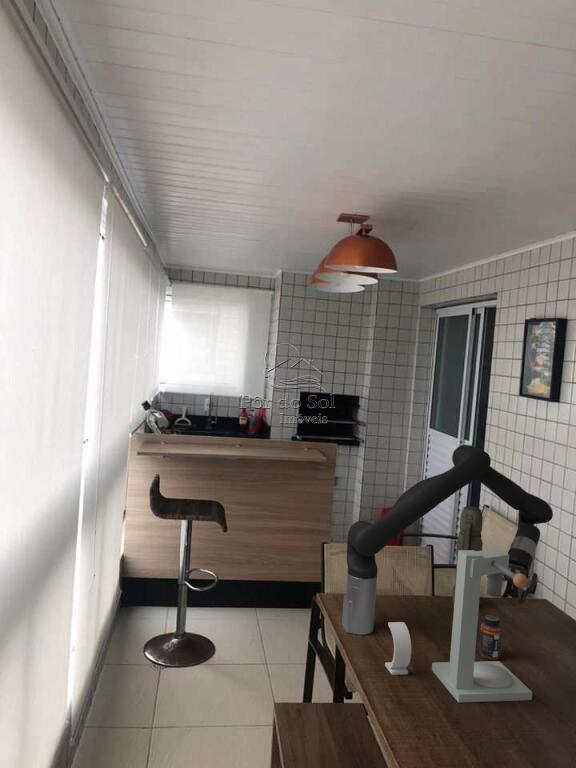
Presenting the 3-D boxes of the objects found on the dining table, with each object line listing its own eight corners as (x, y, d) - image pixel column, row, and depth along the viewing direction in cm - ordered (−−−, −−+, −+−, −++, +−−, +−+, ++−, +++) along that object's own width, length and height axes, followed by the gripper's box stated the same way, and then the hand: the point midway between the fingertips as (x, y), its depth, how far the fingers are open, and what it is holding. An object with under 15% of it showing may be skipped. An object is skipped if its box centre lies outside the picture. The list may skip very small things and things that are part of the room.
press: (477, 725, 138) (489, 572, 138) (431, 669, 164) (441, 539, 163) (555, 722, 142) (567, 572, 141) (498, 668, 167) (508, 540, 166)
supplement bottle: (501, 662, 171) (504, 623, 170) (479, 659, 172) (482, 620, 172) (498, 653, 177) (501, 615, 176) (477, 649, 178) (480, 612, 178)
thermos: (450, 608, 209) (457, 509, 208) (453, 597, 220) (461, 502, 219) (476, 613, 206) (484, 512, 205) (478, 602, 216) (486, 506, 216)
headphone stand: (400, 664, 165) (403, 622, 165) (409, 676, 159) (412, 631, 159) (384, 665, 164) (388, 622, 164) (393, 676, 158) (396, 632, 158)
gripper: (496, 542, 193) (480, 585, 184) (542, 553, 184) (527, 599, 175) (501, 555, 197) (485, 598, 189) (546, 566, 188) (531, 612, 180)
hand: (505, 598), depth 182 cm, fingers open, 8 cm apart
